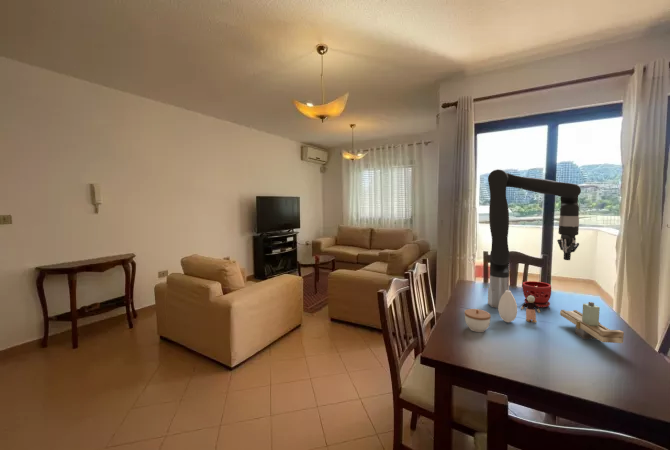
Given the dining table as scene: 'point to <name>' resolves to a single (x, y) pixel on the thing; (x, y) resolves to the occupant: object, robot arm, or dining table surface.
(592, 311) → the block
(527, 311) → the grandmother figurine
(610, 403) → the dining table surface
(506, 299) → the white teardrop vase
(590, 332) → the beam
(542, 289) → the plant pot
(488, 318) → the lidded jar
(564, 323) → the dining table surface
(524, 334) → the dining table surface
